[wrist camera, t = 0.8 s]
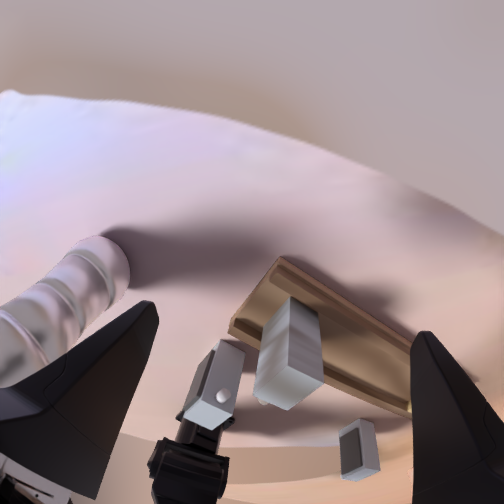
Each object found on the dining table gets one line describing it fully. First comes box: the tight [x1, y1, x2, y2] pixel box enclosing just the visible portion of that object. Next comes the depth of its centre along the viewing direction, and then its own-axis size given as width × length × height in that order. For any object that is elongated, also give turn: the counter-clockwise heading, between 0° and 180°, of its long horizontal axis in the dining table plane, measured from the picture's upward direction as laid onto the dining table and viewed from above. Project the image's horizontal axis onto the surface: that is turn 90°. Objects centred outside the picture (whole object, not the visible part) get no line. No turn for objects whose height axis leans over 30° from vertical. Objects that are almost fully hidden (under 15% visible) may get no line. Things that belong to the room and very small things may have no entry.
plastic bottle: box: [0, 236, 130, 388], centre depth 18 cm, size 6×7×20 cm
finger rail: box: [228, 257, 413, 419], centre depth 24 cm, size 8×32×9 cm, turn 58°
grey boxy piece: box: [339, 418, 381, 481], centre depth 30 cm, size 3×5×8 cm, turn 148°
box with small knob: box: [182, 339, 246, 430], centre depth 26 cm, size 3×5×8 cm, turn 148°
